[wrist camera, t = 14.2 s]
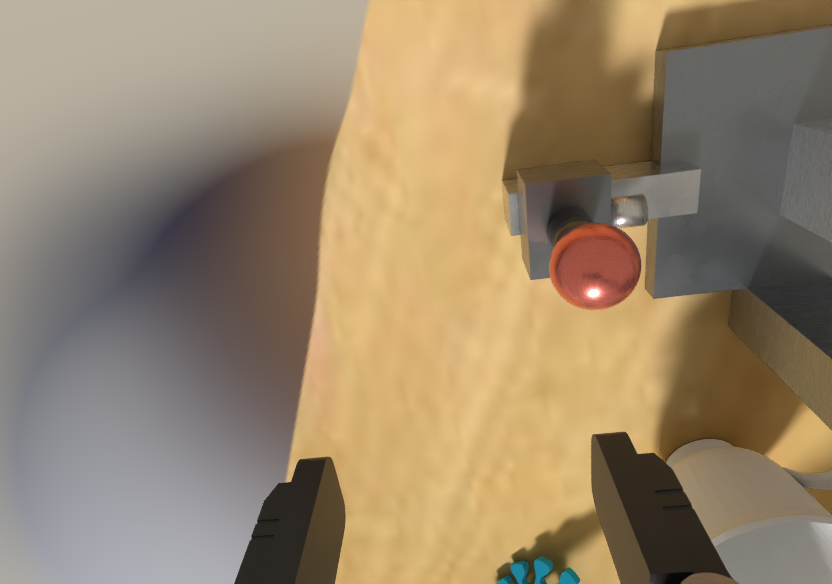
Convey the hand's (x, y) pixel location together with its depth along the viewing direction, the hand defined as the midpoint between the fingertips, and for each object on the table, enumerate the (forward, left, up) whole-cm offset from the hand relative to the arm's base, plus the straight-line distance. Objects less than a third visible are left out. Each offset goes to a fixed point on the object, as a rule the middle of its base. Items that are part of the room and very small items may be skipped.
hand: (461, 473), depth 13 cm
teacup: (-18, +22, -22) cm, 36 cm away
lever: (-7, 0, -19) cm, 20 cm away
